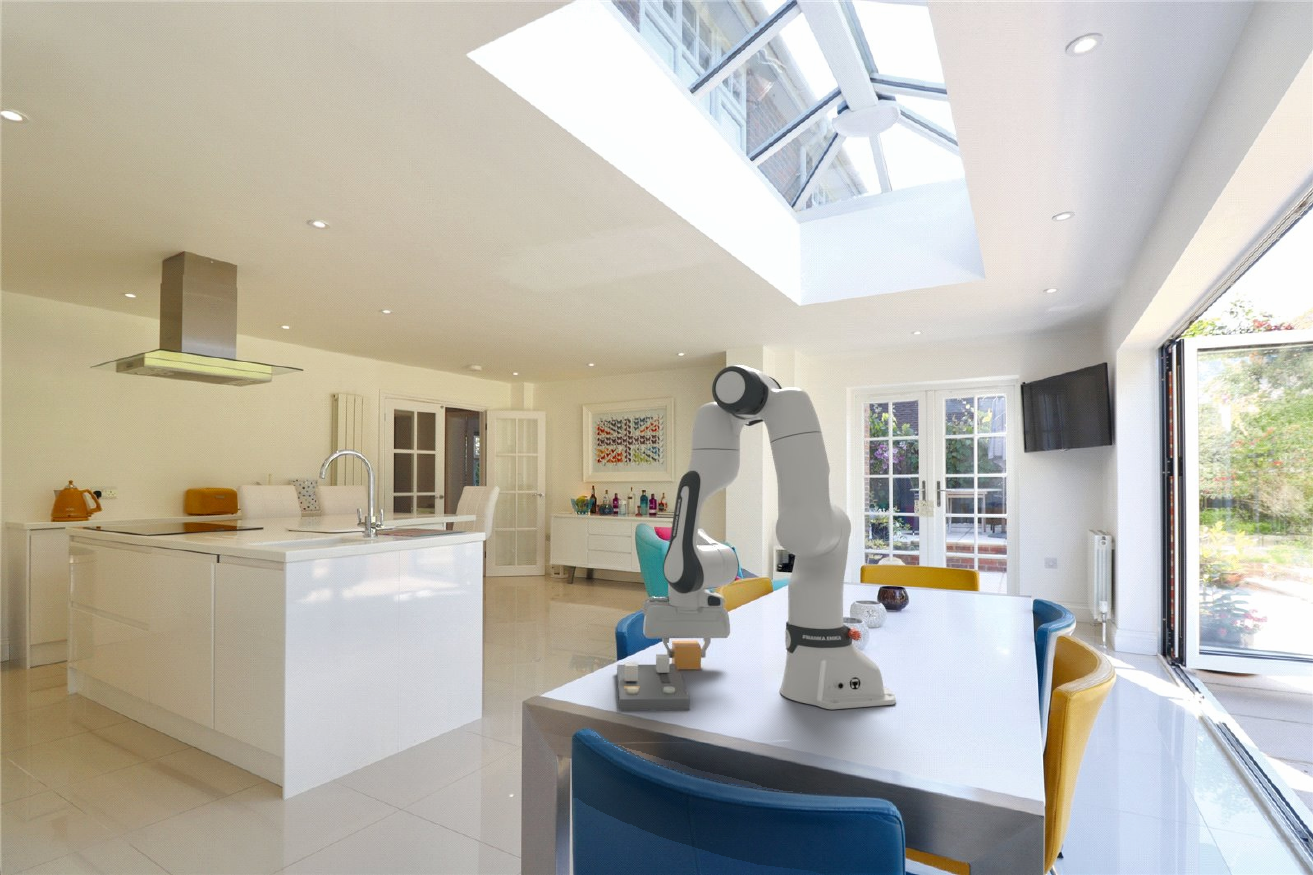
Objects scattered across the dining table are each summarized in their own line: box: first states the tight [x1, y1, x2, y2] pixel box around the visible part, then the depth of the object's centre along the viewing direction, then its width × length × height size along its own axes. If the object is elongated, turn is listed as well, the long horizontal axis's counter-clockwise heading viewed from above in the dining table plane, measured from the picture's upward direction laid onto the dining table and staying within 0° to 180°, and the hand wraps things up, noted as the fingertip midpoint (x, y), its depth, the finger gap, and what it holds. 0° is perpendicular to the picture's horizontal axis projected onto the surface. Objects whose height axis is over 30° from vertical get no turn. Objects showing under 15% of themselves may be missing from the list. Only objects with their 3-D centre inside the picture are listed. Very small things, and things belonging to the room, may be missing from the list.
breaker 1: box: [624, 661, 639, 681], centre depth 133 cm, size 3×3×3 cm
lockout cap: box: [671, 640, 702, 670], centre depth 152 cm, size 6×6×5 cm
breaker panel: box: [616, 663, 691, 711], centre depth 133 cm, size 13×24×3 cm, turn 5°
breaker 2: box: [655, 653, 670, 673], centre depth 139 cm, size 3×3×3 cm
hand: (686, 657), depth 152 cm, fingers closed on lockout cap, 6 cm apart
